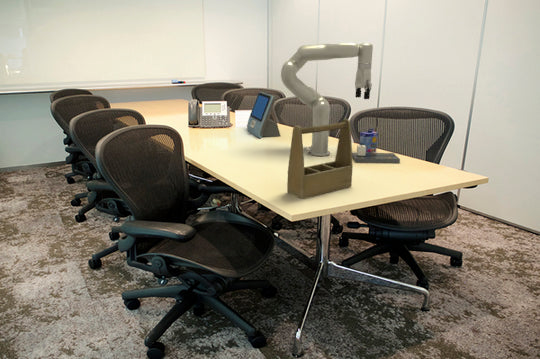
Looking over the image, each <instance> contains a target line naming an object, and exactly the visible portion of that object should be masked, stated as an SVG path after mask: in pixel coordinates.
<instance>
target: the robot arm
mask: <svg viewBox="0 0 540 359" xmlns="http://www.w3.org/2000/svg"><path fill="white" fill-rule="evenodd" d="M373 49H374V45H373V44H372V43H355V42H349V43H348V42H346V43H320V44H305V45H301V46H299V47H298V49H297V51H296V52H295V53H294V54H293V55H292V56H290V58H289V60H287V61H285V62H284V63H283V64H282V66H281V70H280V78H281V81H282V84H283V85H284V86H285V88H286V89H288V91H290V92H291V94H292V95H293V96H295V97H296V98H297V99H299V101H300V102H302V104H304V105H307V106H308V107H309V108H310V109H312V126H322V125H329V124H330V114H331V113H330V111H331V107H330V106H331V105H330V104H329V103H330V102H329V101H328V100H327V99H325V97H324V96H322V95H321V94H320V93H319V92H318V91H317V90H315V89H314V88H313V87H311V86H308V85H307V84H305V83H304V82H303V81H302V80H301V79H300V78H299V77H298V75H297V73H298V72H300V71H301V69H302V68H303V67H304V66H305V65H306V63H308V62H312V61H327V60H334V59H335V60H336V59H347V58H348V59H349V58H350V59H351V58H355V57H356V58H357V68H356V73H355V81H354V87H355V98H362V89H364V92H363V99H364V100H370V94H371V91H372V87H373V83H372V71H371V70H372V66H373V65H372V64H373V51H374V50H373ZM312 126H311V127H312ZM329 131H330V130H328V131H321V132H315V133H311V145H310V146H308V147H307V146H303V151H307V152H308V154H309V155H310V156H313V157H326V156H327V157H328V156H330V155H331V151H329V150H328V149H329V133H330V132H329Z"/></svg>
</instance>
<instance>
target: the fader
mask: <svg viewBox="0 0 540 359" xmlns="http://www.w3.org/2000/svg"><path fill="white" fill-rule="evenodd" d="M356 153H357V155H358V156H365V153H366V146H365V145H359V144H357V146H356Z"/></svg>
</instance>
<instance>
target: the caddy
mask: <svg viewBox="0 0 540 359" xmlns="http://www.w3.org/2000/svg"><path fill="white" fill-rule="evenodd" d="M351 128H352V127H351V121H350V119H347V118H344V119H342V121H341V122H336V123H329V125H322V126H307V127H306V126H305V127H301V126H300V125H294V126H293V128H292V134H291V135H292V136H291V142H290V143H291V144H290V150H289V155H288V156H289V157H288V166H287V183H286V184H287V189H286V190H287V194H290V195H292V196H295V197H296V196H297V198H300V199H302V200H304V199H307V198H312V197H315V196H320V195H323V194H327V193H331V192H334V191H335V192H337V191H339V190H343V189H346V188H350V187H352V185H353V184H352V182H353V181H352V180H353V178H352V176H353V163H354V162H353V158H352V153H353V145H352V129H351ZM328 130H329V131H333V130H339V131H340V132H339V135H338V136H339V137H338V141H337V147H336V154H335V158H334V161H328V162H324V163H319V164H314V165H310V166H305V156H304V145H303V135H305V134H306V135H307V134H312V133H315V132H321V131H328Z"/></svg>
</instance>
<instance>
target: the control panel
mask: <svg viewBox="0 0 540 359" xmlns="http://www.w3.org/2000/svg"><path fill="white" fill-rule="evenodd" d="M352 161H354V162H355V164H400V162H401V158H399V157H398V156H397V154H395V153H394V152H371V153H365V156H358V155H357V152H352Z"/></svg>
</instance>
